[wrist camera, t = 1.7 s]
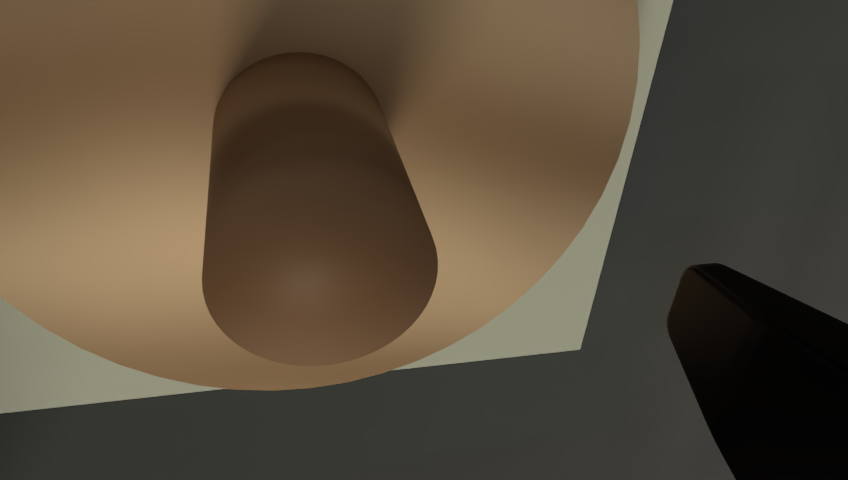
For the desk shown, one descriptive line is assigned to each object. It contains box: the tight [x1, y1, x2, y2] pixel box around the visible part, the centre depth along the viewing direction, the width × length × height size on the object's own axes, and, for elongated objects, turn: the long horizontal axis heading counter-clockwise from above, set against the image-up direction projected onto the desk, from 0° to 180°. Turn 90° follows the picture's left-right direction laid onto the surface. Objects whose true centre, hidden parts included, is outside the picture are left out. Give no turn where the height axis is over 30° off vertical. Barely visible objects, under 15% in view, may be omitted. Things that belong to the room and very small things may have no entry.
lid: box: [0, 0, 640, 391], centre depth 10 cm, size 12×12×5 cm
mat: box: [0, 0, 673, 413], centre depth 13 cm, size 14×14×1 cm
